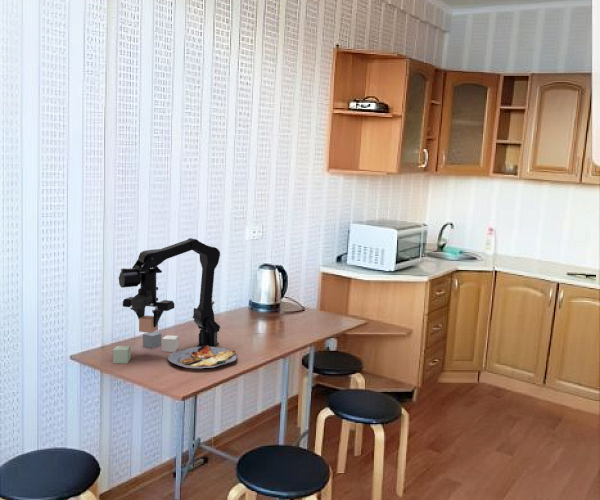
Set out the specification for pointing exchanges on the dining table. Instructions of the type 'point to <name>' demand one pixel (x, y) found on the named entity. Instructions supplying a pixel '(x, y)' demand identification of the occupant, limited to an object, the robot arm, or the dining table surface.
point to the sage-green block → (121, 354)
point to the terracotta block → (147, 324)
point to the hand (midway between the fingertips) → (148, 326)
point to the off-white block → (169, 343)
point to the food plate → (203, 357)
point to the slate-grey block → (152, 340)
